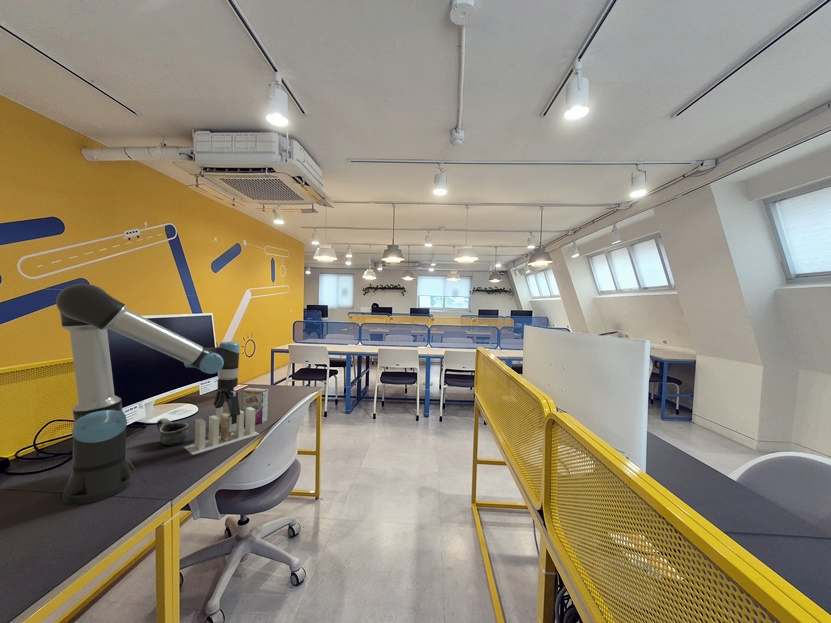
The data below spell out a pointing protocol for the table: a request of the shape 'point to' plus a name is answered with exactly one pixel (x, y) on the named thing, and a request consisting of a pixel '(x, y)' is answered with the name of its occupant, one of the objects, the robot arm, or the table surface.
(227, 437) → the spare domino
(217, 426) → the domino
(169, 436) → the mug
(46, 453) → the table surface
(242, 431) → the domino
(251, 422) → the domino
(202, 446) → the domino
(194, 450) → the mat
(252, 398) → the candy bar box
